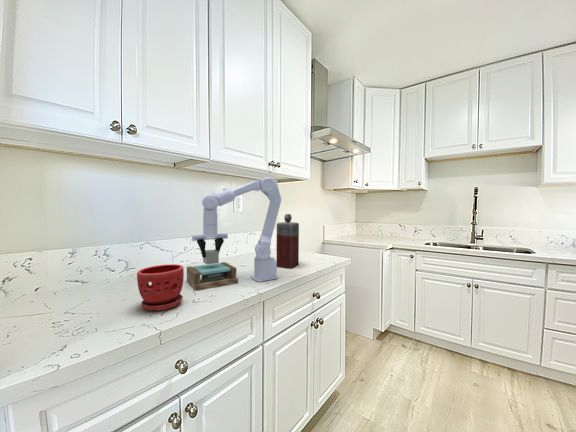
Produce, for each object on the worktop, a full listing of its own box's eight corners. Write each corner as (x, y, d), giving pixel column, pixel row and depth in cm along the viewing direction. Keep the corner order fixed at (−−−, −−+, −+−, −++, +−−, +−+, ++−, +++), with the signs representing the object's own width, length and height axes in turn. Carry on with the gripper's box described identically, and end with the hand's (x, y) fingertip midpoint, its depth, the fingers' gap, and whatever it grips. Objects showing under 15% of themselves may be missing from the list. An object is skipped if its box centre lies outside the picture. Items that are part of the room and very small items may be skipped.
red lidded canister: (280, 263, 139) (281, 213, 138) (298, 265, 134) (299, 214, 133) (272, 266, 131) (272, 213, 130) (291, 268, 126) (291, 214, 125)
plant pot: (184, 295, 87) (184, 262, 86) (182, 310, 74) (182, 271, 74) (142, 300, 82) (142, 264, 82) (132, 316, 70) (132, 275, 69)
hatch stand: (225, 275, 113) (225, 262, 113) (237, 283, 101) (237, 268, 101) (186, 281, 104) (186, 266, 104) (195, 290, 92) (195, 274, 92)
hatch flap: (220, 270, 112) (220, 262, 111) (230, 276, 102) (230, 268, 102) (192, 274, 105) (192, 266, 105) (200, 281, 95) (200, 272, 95)
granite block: (214, 260, 107) (214, 249, 107) (218, 263, 103) (218, 251, 103) (203, 262, 104) (203, 250, 104) (206, 264, 100) (206, 252, 100)
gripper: (223, 223, 111) (223, 253, 111) (190, 224, 103) (190, 256, 103) (229, 224, 105) (229, 255, 106) (194, 225, 97) (194, 259, 97)
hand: (210, 256), depth 104 cm, fingers closed on granite block, 5 cm apart
